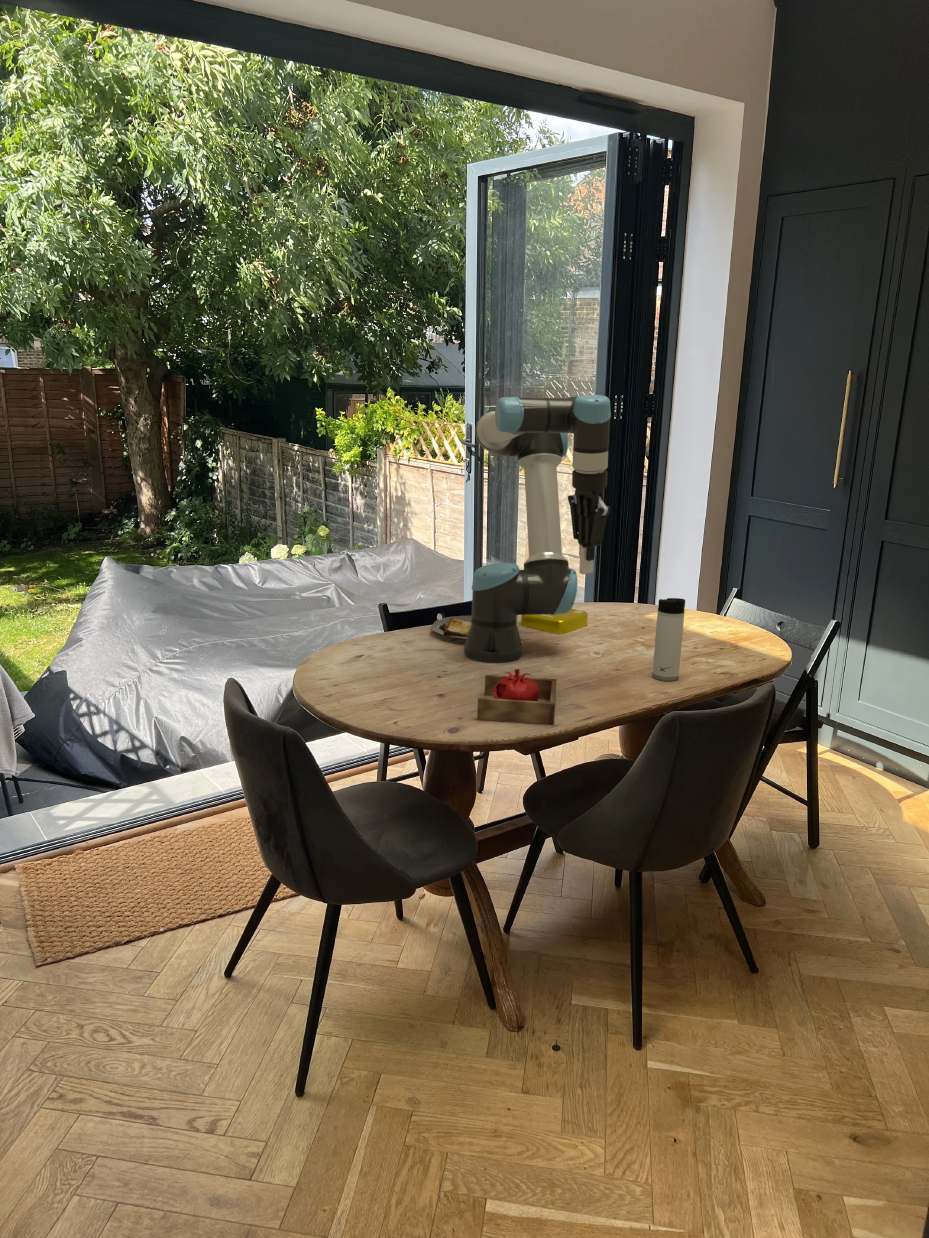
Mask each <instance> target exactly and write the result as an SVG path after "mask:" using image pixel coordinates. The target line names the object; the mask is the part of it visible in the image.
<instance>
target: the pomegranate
mask: <svg viewBox="0 0 929 1238" xmlns="http://www.w3.org/2000/svg"><path fill="white" fill-rule="evenodd" d="M504 673H506V674H508V675H502V676H503V677H502V678H505V679H503V680H501V681H500V682H498V683H497V684H496V685H495V687H494V690H493V695H494V696H493V699H509V700H524V701H539V699H538V698H539V689H538V685H537V683H536V682H535V681H534V680H533V681H532V680H530V679H528V678H525V677H526V676H527V675H528V676H532V677H533V676H534V675H533V674H530V673H528V672H527V673H523V674H521V675H520V668H515V669H514V674H512V673H511V672H509V671H504ZM506 676H508V677H506ZM502 678H499V679H502Z"/></svg>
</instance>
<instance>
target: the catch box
mask: <svg viewBox="0 0 929 1238" xmlns="http://www.w3.org/2000/svg"><path fill="white" fill-rule="evenodd" d="M503 676H504V675H494V674H485V675H484V696H493V697H492V698H490V697H478V698H477V711H476V712H477V714H476V715H477V717H476V718H477V719H476V720H481V721H496V722H512V723H513V722H514V723H523V724H524V723H526V724H540V725H541V724H542V725H554V724H555V713H556V712H555V711H556V701H557V700H556V698H557V679H556V678H546V677H545V678H544V677H543V678H541V677H527V676H524V677H525V678H528V679H530V680H532V681H533V680H534V681H535V682H536V683H537V685H538V689H539V698H538V700H537V701H524V700H509V699H494V695H493V690H494V687H495V685H496V684H497V683H498V682H500V681H501V680H503V679H505V678H502V677H503ZM505 676H506V677H508V676H509V675H505ZM499 678H502V679H499ZM539 700H549V701H539Z"/></svg>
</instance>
